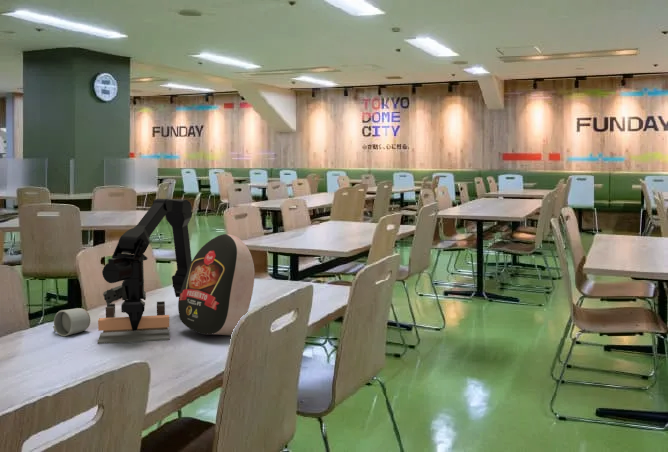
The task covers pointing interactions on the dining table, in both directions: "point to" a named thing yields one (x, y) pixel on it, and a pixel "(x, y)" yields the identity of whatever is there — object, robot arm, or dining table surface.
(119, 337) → the mat
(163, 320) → the rail
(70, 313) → the ceramic mug
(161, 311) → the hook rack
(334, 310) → the dining table surface
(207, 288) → the packaged food
